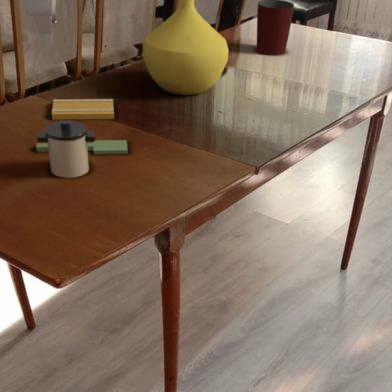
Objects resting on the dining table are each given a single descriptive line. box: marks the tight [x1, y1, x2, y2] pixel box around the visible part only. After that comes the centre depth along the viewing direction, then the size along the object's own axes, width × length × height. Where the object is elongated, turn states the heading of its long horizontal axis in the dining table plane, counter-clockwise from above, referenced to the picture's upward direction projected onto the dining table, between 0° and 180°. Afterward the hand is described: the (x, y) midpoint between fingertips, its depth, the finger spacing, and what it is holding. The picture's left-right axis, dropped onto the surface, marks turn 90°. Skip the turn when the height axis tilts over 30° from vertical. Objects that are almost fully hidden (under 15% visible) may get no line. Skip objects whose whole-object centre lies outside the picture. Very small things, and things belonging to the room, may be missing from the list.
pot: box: [36, 119, 96, 179], centre depth 104 cm, size 9×7×8 cm
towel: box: [51, 98, 115, 120], centre depth 125 cm, size 12×8×1 cm, turn 97°
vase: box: [142, 0, 229, 96], centre depth 133 cm, size 18×18×19 cm
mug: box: [256, 0, 295, 56], centre depth 159 cm, size 12×9×11 cm
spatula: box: [35, 139, 129, 155], centre depth 112 cm, size 16×4×1 cm, turn 97°
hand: (49, 35), depth 90 cm, fingers open, 8 cm apart
